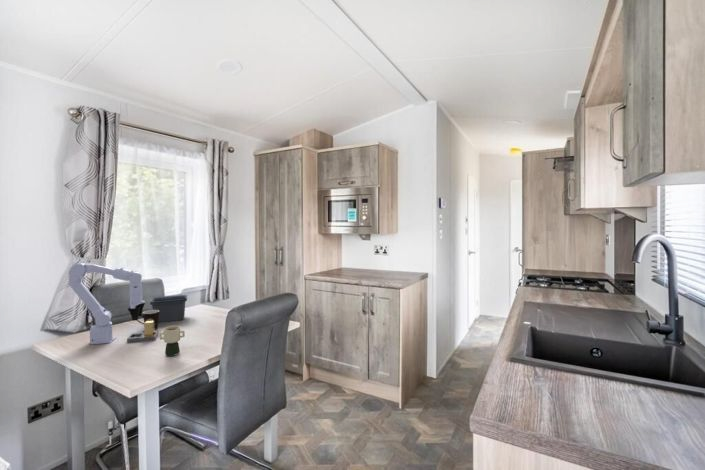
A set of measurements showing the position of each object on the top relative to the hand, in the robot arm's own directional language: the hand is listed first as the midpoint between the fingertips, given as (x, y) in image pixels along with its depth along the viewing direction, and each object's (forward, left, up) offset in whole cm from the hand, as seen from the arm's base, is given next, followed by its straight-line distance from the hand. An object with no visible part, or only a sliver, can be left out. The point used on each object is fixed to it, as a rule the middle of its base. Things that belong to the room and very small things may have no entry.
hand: (137, 318), depth 194 cm
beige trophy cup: (+23, -33, -11) cm, 42 cm away
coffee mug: (+2, +15, -11) cm, 18 cm away
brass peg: (+7, -4, -10) cm, 13 cm away
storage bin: (+10, +32, -11) cm, 35 cm away
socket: (+4, -4, -10) cm, 12 cm away
